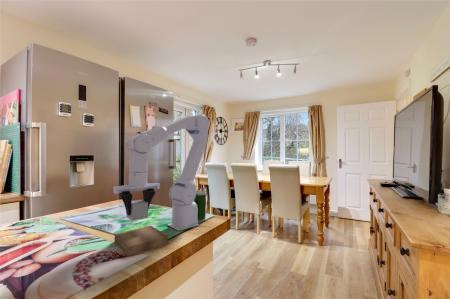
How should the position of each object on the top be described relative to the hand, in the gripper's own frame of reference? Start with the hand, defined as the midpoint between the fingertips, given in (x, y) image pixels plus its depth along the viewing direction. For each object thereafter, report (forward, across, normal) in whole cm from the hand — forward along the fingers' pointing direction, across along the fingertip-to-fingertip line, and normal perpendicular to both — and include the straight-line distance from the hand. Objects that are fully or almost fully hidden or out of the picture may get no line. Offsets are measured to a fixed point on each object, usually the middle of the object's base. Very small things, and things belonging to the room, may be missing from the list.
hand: (137, 212), depth 73 cm
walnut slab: (+9, 0, +4) cm, 10 cm away
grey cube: (+2, 0, 0) cm, 2 cm away
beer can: (+9, -28, -3) cm, 29 cm away
